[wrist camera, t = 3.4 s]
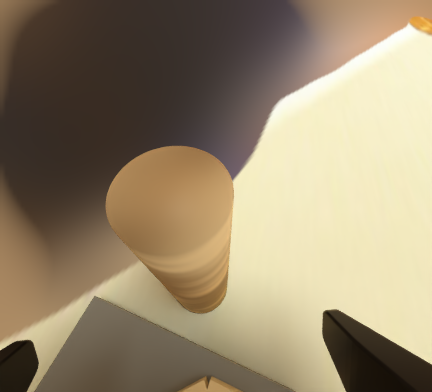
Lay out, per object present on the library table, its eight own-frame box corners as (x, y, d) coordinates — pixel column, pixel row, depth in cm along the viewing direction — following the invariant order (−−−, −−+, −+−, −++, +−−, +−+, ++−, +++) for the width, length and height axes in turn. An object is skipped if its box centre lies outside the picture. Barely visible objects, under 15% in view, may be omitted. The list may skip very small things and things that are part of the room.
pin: (234, 270, 19) (250, 163, 8) (215, 322, 17) (203, 275, 6) (188, 252, 20) (148, 134, 9) (166, 300, 18) (77, 224, 7)
